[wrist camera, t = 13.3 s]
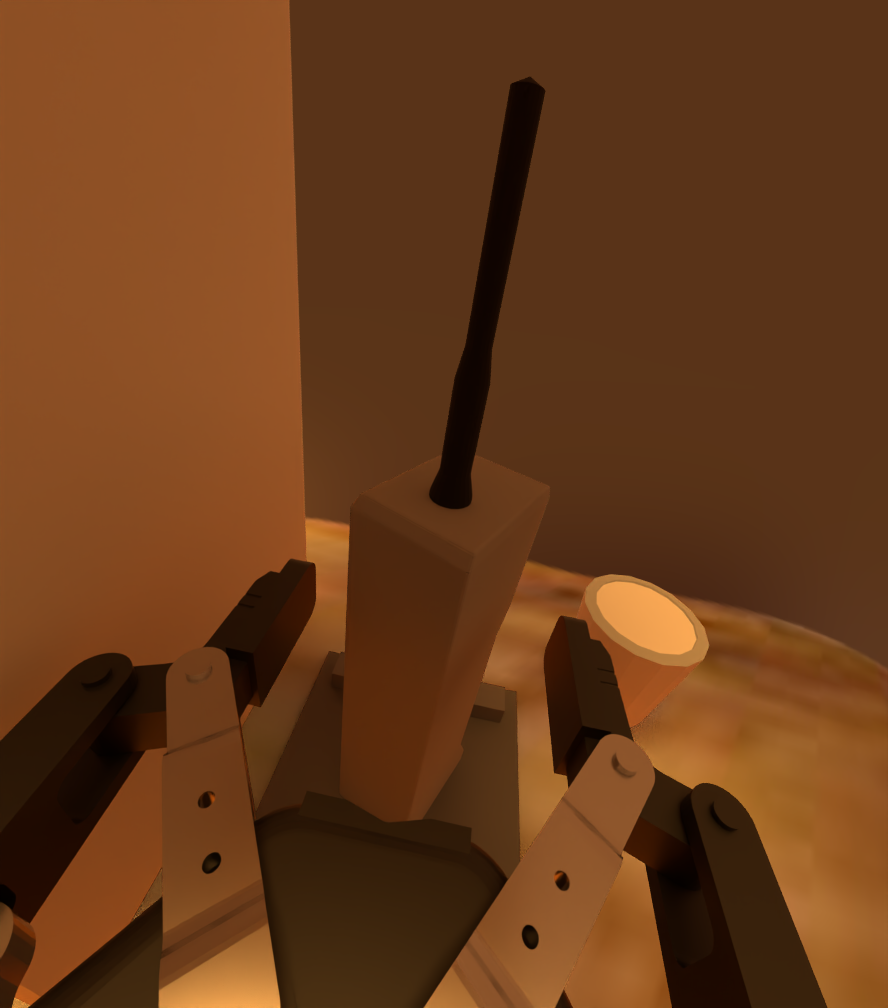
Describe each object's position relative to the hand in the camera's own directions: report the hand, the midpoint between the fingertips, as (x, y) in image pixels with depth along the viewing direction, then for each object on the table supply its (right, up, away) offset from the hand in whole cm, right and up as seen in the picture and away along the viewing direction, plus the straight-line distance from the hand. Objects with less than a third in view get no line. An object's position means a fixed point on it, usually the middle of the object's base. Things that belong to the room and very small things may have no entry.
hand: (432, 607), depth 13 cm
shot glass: (+11, -9, +14) cm, 20 cm away
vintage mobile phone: (-2, -10, +7) cm, 13 cm away
